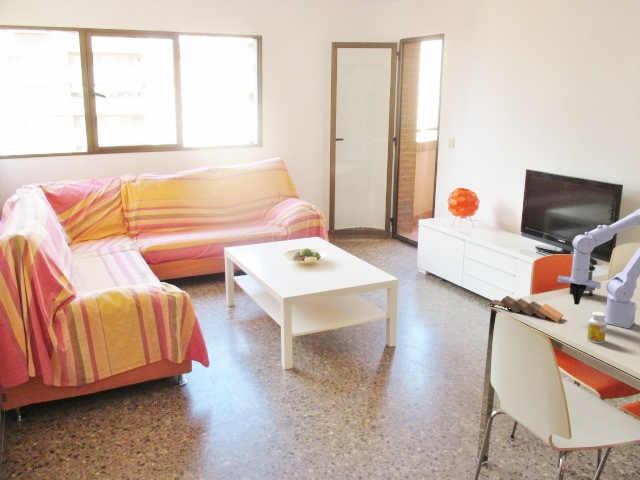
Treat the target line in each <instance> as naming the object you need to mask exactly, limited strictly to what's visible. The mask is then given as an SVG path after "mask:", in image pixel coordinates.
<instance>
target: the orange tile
mask: <svg viewBox="0 0 640 480" xmlns="http://www.w3.org/2000/svg"><path fill="white" fill-rule="evenodd" d="M541 306H542V307H541V308H540V310H539V311H540V312H541V313H543V314H545V315H546V316H548V317H547V318H550V319H551V320H553V321H554V322H556V323H558V322H559V321H561V320H562V319H563V317H564V316H565V314H563V313H561V312H560V311H559V310H557V309H555V308H553V307H552V306H551V305H548V304H547V303H545V304H543V305H541Z"/></svg>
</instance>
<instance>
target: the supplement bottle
mask: <svg viewBox="0 0 640 480" xmlns="http://www.w3.org/2000/svg"><path fill="white" fill-rule="evenodd" d="M591 314H592V315H591V318H590V319H589V320H588V328H587V336H586V338H587V341H588V342H590V343H594V344H604V342H605V340H606V332H607V322H606V321H605V320H604V319H605V315H606V313H604V312H601V311H593V312H592V313H591Z"/></svg>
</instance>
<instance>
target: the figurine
mask: <svg viewBox="0 0 640 480" xmlns="http://www.w3.org/2000/svg"><path fill="white" fill-rule="evenodd" d="M595 270H596V267H595V264H593V262H590V265H589V275H588V280H592V281H593V272H594V271H595ZM570 285H571V284H569V286H570ZM568 291H569V294H570V293H571V294H572V291H571V289H570V288H569V289H568ZM594 291H596V288H594V287H588V286H587V288H586V290H585V291H584V292H588V295H589V297H593V296H594ZM572 295H573V294H572Z"/></svg>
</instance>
